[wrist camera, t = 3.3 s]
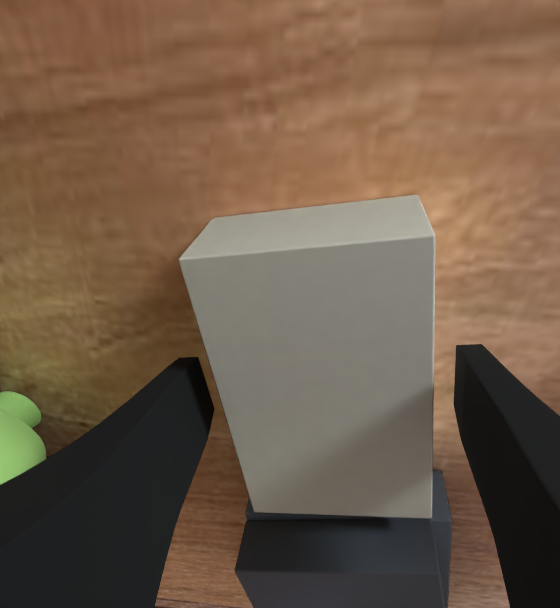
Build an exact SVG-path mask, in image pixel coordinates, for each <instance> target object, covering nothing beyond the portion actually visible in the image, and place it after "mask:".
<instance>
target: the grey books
mask: <svg viewBox="0 0 560 608" xmlns="http://www.w3.org/2000/svg"><path fill="white" fill-rule="evenodd" d="M245 515H246V518H247V521H246V524H245V528H244V532H243V537H242V541H241V545H240V550H239V554H238V558H237V563H236V567H235V573H236V575H237V577H238V578H239V580H240V582H241V584H242V586H243V588H244V590H245V592H246V594H247V596H248V598H249V600H250V602H251V604H252V606H253V608H448V596H449V576H450V556H451V535H452V518H451V513H450V508H449V503H448V498H447V493H446V488H445V483H444V479H443V474H442V471H433V476H432V518H404V517H376V516H348V515H320V514H292V513H265V512H254V510H253V506H252V503H251V500H250V496H249V500H248V504H247V508H246V512H245Z"/></svg>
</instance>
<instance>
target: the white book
mask: <svg viewBox="0 0 560 608" xmlns="http://www.w3.org/2000/svg"><path fill="white" fill-rule="evenodd" d="M435 240H436V236H435V234H434V231H433V229H432V227H431V224H430V222H429V220H428V217H427V215H426V213H425V210H424V208H423V206H422V203H421V201H420V199H419V196H418V195H409V196H401V197H392V198H383V199H374V200H366V201H357V202H348V203H339V204H330V205H322V206H313V207H304V208H295V209H286V210H278V211H269V212H260V213H251V214H243V215H234V216H225V217H216V218H213V219H212V220H211V221H210V222H209V223H208V224H207V226H206V227H205V228H204V229H203V230H202V232H201V233H200V234H199V235H198V236H197V238H196V239H195V240H194V241H193V242H192V243H191V245H190V246H189V247H188V248H187V249H186V251H185V252H184V253H183V254H182V255H181V257H180V258H179V264H180V267H181V270H182V274H183V277H184V280H185V284H186V287H187V290H188V294H189V297H190V300H191V303H192V307H193V310H194V313H195V317H196V320H197V323H198V327H199V330H200V333H201V337H202V340H203V343H204V347H205V350H206V353H207V357H208V360H209V363H210V367H211V370H212V373H213V377H214V380H215V383H216V387H217V390H218V393H219V397H220V400H221V403H222V407H223V410H224V413H225V417H226V420H227V423H228V427H229V430H230V433H231V437H232V440H233V443H234V446H235V450H236V453H237V456H238V460H239V463H240V466H241V470H242V473H243V476H244V480H245V483H246V486H247V490H248V493H249V496H250V500H251V503H252V506H253V510H254V512H265V513H292V514H320V515H348V516H376V517H404V518H432V476H433V397H434V318H435Z"/></svg>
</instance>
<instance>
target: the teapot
mask: <svg viewBox="0 0 560 608" xmlns="http://www.w3.org/2000/svg"><path fill="white" fill-rule="evenodd" d="M40 421H41V413H40V411H39V409H38V407H37V406H36V405H35V404H34V403H33V402H32V401H31V400H30V399H28V398H27V397H25V396H23V395H21V394H19V393H16V392H11V391H5V392H1V393H0V485H1V484H3V483H5V482H7V481H8V480H10V479H12V478H14V477H16V476H18V475H20V474H22V473H23V472H25V471H27V470H29V469H30V468H32V467H34V466H35V465H37V464H39V463H40V462H42V461H44V460H45V459H46V449H45V446H44V443H43V441H42V440H41V438H40V437H39V435H38V434H37V433H36V432H35V431H34V430H33V429H32V428H34V427H35V426H37V425H38V424H39V423H40Z"/></svg>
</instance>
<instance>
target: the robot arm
mask: <svg viewBox="0 0 560 608" xmlns="http://www.w3.org/2000/svg"><path fill="white" fill-rule="evenodd" d="M454 408H455V413H456V418H457V423H458V428H459V432H460V437H461V441H462V444H463V447H464V450H465V453H466V456H467V459H468V461H469V464H470V467H471V470H472V473H473V476H474V479H475V482H476V485H477V488H478V491H479V493H480V496H481V499H482V502H483V505H484V508H485V511H486V514H487V517H488V520H489V523H490V526H491V530H492V533H493V536H494V540H495V544H496V548H497V553H498V557H499V561H500V565H501V569H502V573H503V578H504V582H505V586H506V591H507V595H508V600H509V604H510V608H560V416H559V415H558V414H557V413H555V412H554V411H553V410H552V409H550V408H549V407H548V406H547V405H546V404H545V403H543V402H542V401H541V400H540V399H539V398H538V397H537V396H535V395H534V394H533V393H532V392H531V391H530V390H529V389H528V388H526V387H525V386H524V385H523V384H522V383H521V382H520V381H519V380H518V379H517V378H516V377H515V376H514V375H512V374H511V373H510V372H509V371H508V370H507V369H506V368H505V367H504V366H503V365H502V364H501V363H500V362H499V361H498V360H497V359H496V358H495V357H494V356H493V355H492V354H491V353H490V352H489V351H488V350H487V349H486V348H485V347H484V346H483V345H482V344H475V345H456V364H455V387H454ZM213 413H214V406H213V403H212V399H211V396H210V393H209V390H208V387H207V384H206V380H205V377H204V374H203V371H202V368H201V364H200V361H199V358H198V357H187V358H178V359H177V360H176V361H174V362H173V363H172V364H171V365H169V366H168V367H167V368H166V369H165V370H163V371H162V372H161V373H160V374H159V375H158V376H156V377H155V378H154V379H153V380H152V381H151V382H149V383H148V384H147V385H146V386H145V387H144V388H142V389H141V390H140V391H139V392H138V393H137V394H135V395H134V396H133V397H132V398H131V399H130V400H128V401H127V402H126V403H125V404H123V405H122V406H121V407H120V408H118V409H117V410H116V411H115V412H113V413H112V414H111V415H110V416H108V417H107V418H106V419H104V420H103V421H102V422H101V423H99V424H98V425H97V426H95V427H94V428H93V429H91V430H90V431H89V432H87V433H86V434H84V435H83V436H82V437H80V438H79V439H77V440H76V441H74V442H73V443H71V444H70V445H68V446H67V447H65V448H64V449H62V450H60V451H59V452H57V453H56V454H54V455H52V456H51V457H49V458H47V459H45V460H44V461H42V462H40V463H39V464H37V465H35V466H34V467H32V468H30V469H29V470H27V471H25V472H23V473H22V474H20V475H18V476H16V477H14V478H12V479H10V480H8V481H7V482H5V483H3V484H1V485H0V608H154V607H155V603H156V598H157V594H158V590H159V586H160V582H161V578H162V574H163V570H164V566H165V561H166V558H167V554H168V550H169V547H170V543H171V539H172V536H173V532H174V528H175V525H176V522H177V519H178V516H179V513H180V510H181V508H182V505H183V502H184V500H185V497H186V495H187V492H188V489H189V487H190V484H191V482H192V479H193V476H194V474H195V471H196V469H197V466H198V464H199V461H200V458H201V456H202V453H203V450H204V448H205V445H206V442H207V439H208V435H209V431H210V427H211V422H212V418H213Z"/></svg>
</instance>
